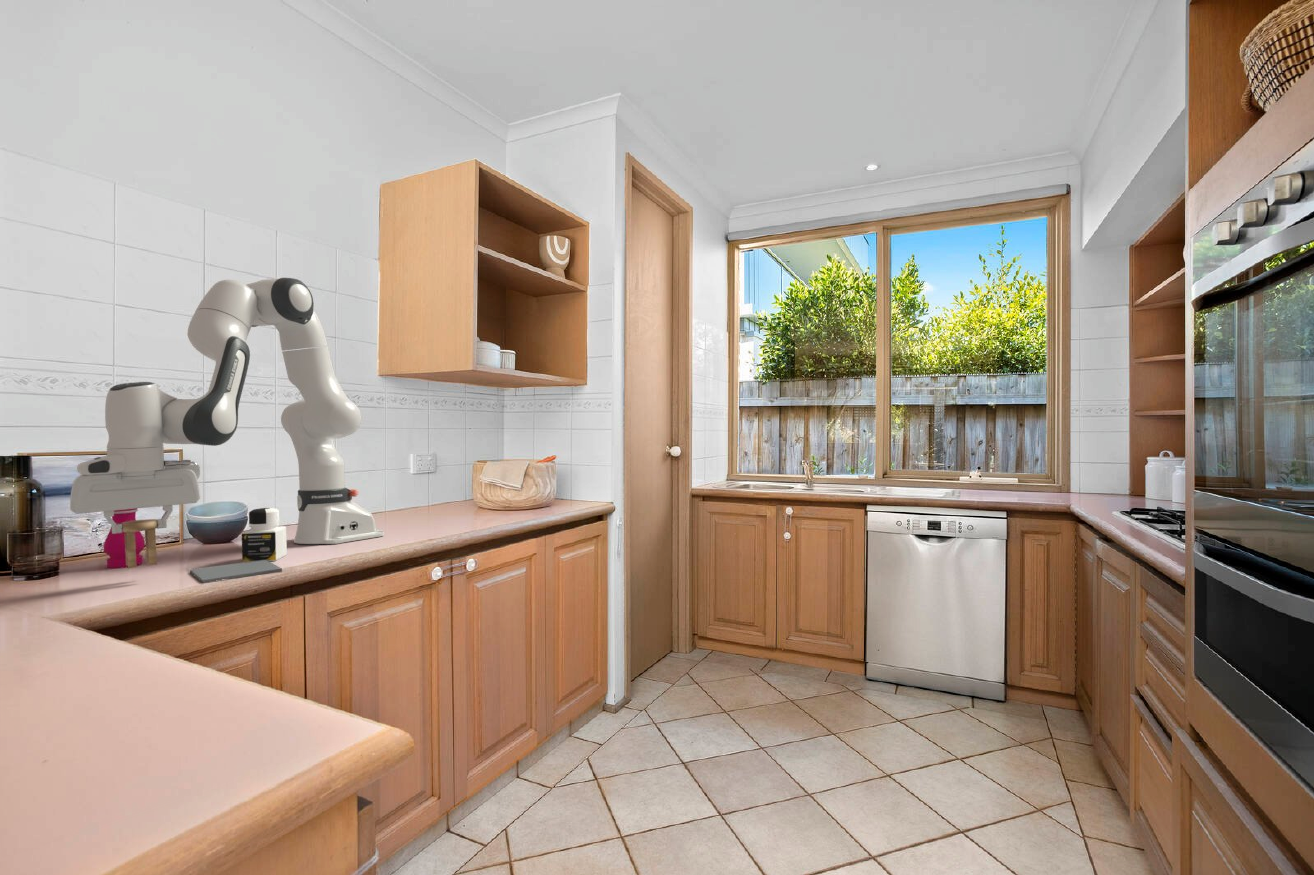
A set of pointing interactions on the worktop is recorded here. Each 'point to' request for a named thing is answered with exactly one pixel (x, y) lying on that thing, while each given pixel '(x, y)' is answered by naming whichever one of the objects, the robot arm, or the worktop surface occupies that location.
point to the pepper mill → (122, 541)
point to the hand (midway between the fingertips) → (139, 530)
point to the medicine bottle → (264, 536)
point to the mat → (235, 570)
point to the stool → (150, 540)
